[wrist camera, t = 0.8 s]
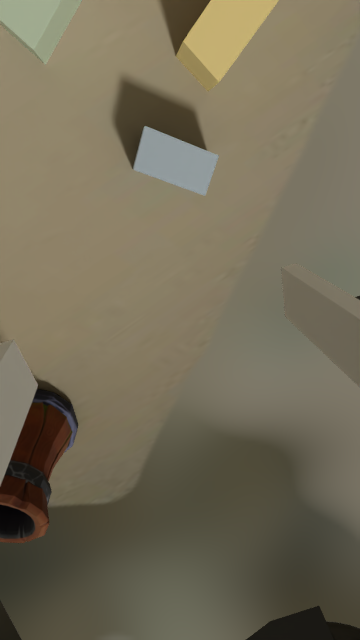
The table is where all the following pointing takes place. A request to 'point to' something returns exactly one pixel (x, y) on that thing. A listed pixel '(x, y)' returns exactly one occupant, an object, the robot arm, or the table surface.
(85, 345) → the table surface
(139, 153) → the slate brick
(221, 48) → the ochre brick
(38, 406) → the mug
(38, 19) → the sage brick
